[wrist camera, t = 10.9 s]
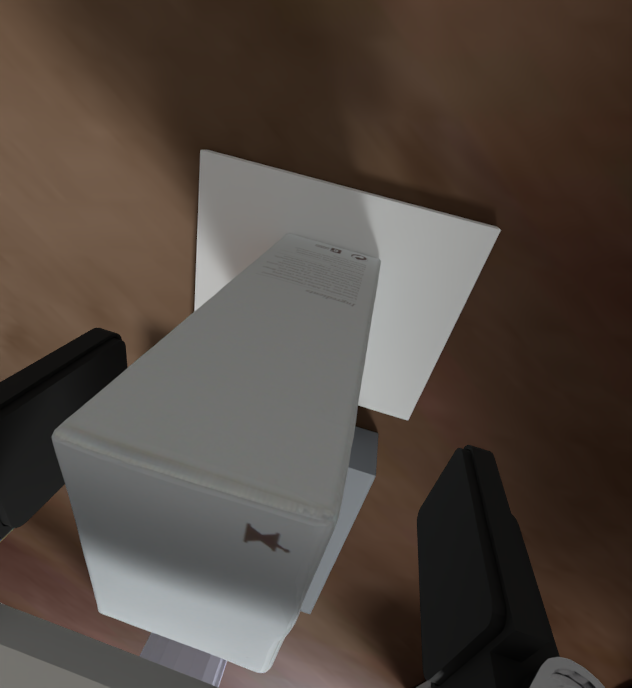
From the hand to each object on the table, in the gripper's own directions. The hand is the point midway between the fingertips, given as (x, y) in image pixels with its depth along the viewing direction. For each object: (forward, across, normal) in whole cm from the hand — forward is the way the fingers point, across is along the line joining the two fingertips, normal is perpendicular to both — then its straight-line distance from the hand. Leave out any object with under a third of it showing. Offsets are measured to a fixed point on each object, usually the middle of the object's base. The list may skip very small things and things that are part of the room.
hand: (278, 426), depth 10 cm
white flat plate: (+8, +1, 0) cm, 8 cm away
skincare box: (+8, +1, 0) cm, 8 cm away
